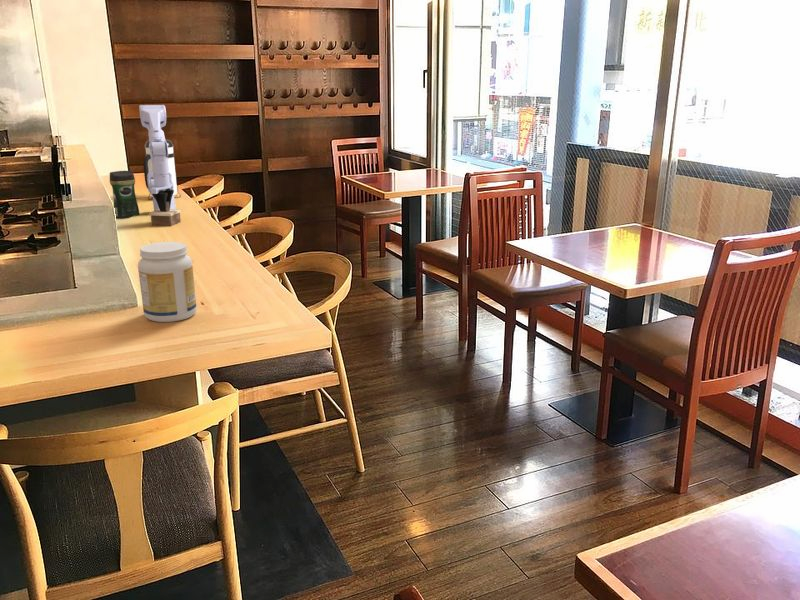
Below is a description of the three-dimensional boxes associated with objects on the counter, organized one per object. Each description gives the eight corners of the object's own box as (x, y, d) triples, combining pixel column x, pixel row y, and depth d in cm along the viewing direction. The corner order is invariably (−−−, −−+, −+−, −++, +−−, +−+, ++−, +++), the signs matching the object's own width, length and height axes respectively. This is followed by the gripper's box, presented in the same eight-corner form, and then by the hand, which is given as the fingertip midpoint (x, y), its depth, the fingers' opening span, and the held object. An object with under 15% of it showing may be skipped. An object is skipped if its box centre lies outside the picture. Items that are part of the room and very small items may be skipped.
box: (161, 222, 266) (160, 211, 265) (180, 223, 265) (179, 212, 264) (151, 226, 259) (150, 215, 257) (171, 227, 258) (170, 215, 256)
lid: (160, 212, 265) (158, 199, 264) (181, 213, 264) (180, 200, 263) (149, 217, 257) (147, 203, 255) (171, 217, 256) (169, 204, 254)
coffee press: (144, 197, 323) (136, 132, 314) (178, 194, 330) (172, 131, 321) (147, 202, 309) (140, 135, 299) (183, 200, 315) (177, 134, 306)
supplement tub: (178, 303, 171) (171, 238, 165) (207, 314, 163) (201, 245, 158) (133, 316, 162) (125, 247, 156) (162, 327, 154) (154, 255, 149)
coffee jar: (136, 213, 284) (131, 169, 278) (141, 216, 278) (136, 171, 272) (112, 216, 279) (106, 170, 273) (116, 219, 272) (110, 172, 267)
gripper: (160, 171, 263) (163, 206, 267) (141, 176, 249) (145, 212, 254) (177, 171, 262) (180, 206, 266) (159, 176, 249) (163, 213, 253)
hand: (164, 209), depth 260 cm, fingers open, 3 cm apart
